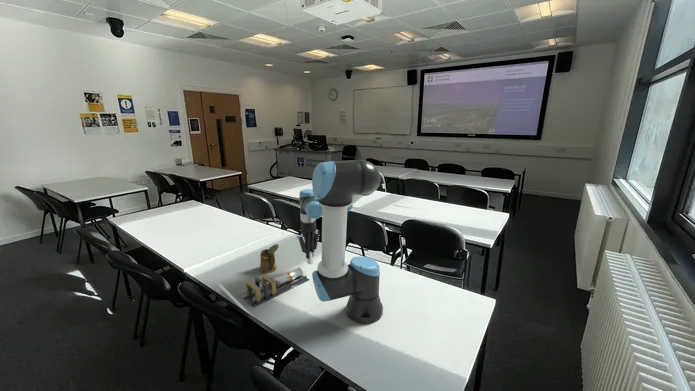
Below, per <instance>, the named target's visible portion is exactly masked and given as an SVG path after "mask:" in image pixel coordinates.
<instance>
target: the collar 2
mask: <svg viewBox="0 0 695 391" xmlns="http://www.w3.org/2000/svg"><path fill="white" fill-rule="evenodd" d="M260 279H261V284H262V283H264V282H265V283H266V284H268V283H270V284H271V295H272V296H274V295H276V294H277V293H276V282H275V281H274V280H273V279H272V277H270V276H268V275H267V273H263V275H261V277H260ZM261 286H262V285H261ZM262 288H263V286H262Z"/></svg>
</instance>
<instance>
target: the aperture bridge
mask: <svg viewBox="0 0 695 391" xmlns="http://www.w3.org/2000/svg"><path fill="white" fill-rule="evenodd" d="M254 282H255V283H254V284H255V285H256V286H258V287H259V288H260V287H261V286H263V287H264V293H265V299H268V298H269V290H268V285H267V284H268V283H267V284H266V283H265V282H264V283H262V279H261V278H259V277H256V278H254ZM260 285H261V286H260Z"/></svg>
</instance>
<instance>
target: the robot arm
mask: <svg viewBox="0 0 695 391" xmlns="http://www.w3.org/2000/svg"><path fill="white" fill-rule="evenodd" d="M381 178H382V177H381V173H380V171H379V169H378V167H377V166H376V165H374V164H373V163H372V162H370V161H368V160H363V159H355V160H352V159H351V160H336V161H334V160H330V161H326V162H320V163H318V164H317V165H316V167H315V168H314V170H313V174H312V180H311V181H312V182H311V187H312V188H307V189H301V190H300V191H299V197H298V198H299V211H300V212H299V214H300V228H301V232H300V234H299V235H298V236H297V237H296V238H297V240H298V241H299V245H300V248H301V252H302V253H304V254H305V258H306V261H307V264H308V265H309V266H310V265H313V262H314V260H313V258H314V253H315V251H316V250H317V248H318V242H319V241H318V240H319V236H320V233H321V261H320V262H319V263H318V264H317V268H316V270H313V271H312V273H311V277H312V282H313V287H314V289H315V293H316V296H317V298H318V299H319V300H320V302H331V301H334V300H339V299H342V298H346V297H348V300H347V303H346V306H345V308H346V310H345V312H346V316H347V317H348V318H349V319H350V320H352V321H353V322H356V323H360V324H373V323H375V322H378V321H379V320H380V319H381V318H382V317H383V312H384V306H383V303H382V302H381V298H380V275H381V272H380V265H379V263H378V262H377V261H376V259H374V258H371V257H368V256H355V257H352V258H351V259H350V261H349V264H348V263H347V262H346V260H345V259H346V243H347V242H346V241H347V226H348V224H347V223H348V222H347V221H348V212H350V211H352V208H353V206H354V205H353V204H356V203H357V201H359V200H361V199H362V198H363V197H367V196H370V195H372V194H373V193H375V192H376V191H377V190H378V188H380V185H381ZM321 217H322V219H321V231H320V230H318V229H317V219H319V218H321Z"/></svg>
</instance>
